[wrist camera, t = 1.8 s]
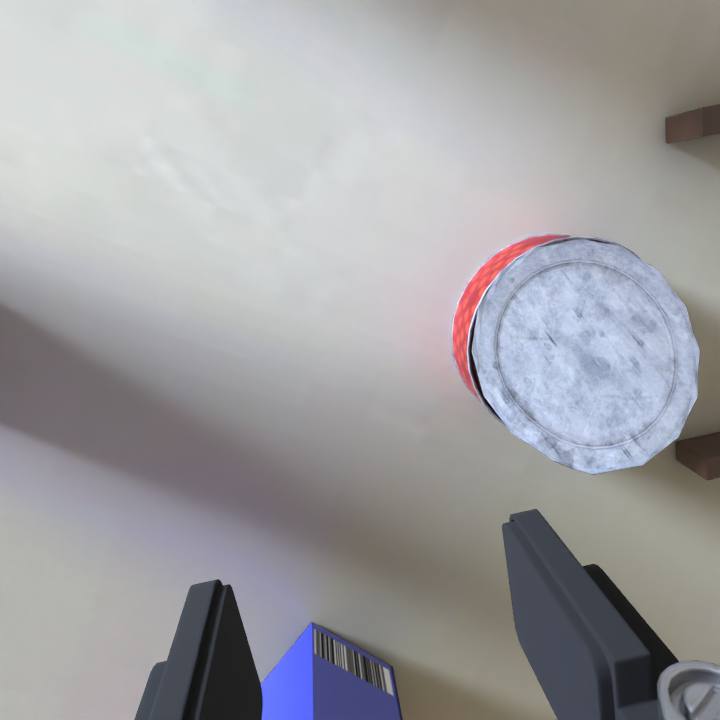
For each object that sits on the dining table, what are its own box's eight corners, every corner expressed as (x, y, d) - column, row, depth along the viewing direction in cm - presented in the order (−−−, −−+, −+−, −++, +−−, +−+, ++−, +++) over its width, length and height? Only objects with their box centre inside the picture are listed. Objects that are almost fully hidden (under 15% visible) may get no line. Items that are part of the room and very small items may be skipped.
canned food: (431, 348, 33) (379, 353, 24) (546, 209, 30) (538, 153, 21) (586, 479, 30) (596, 544, 21) (726, 339, 28) (809, 341, 18)
